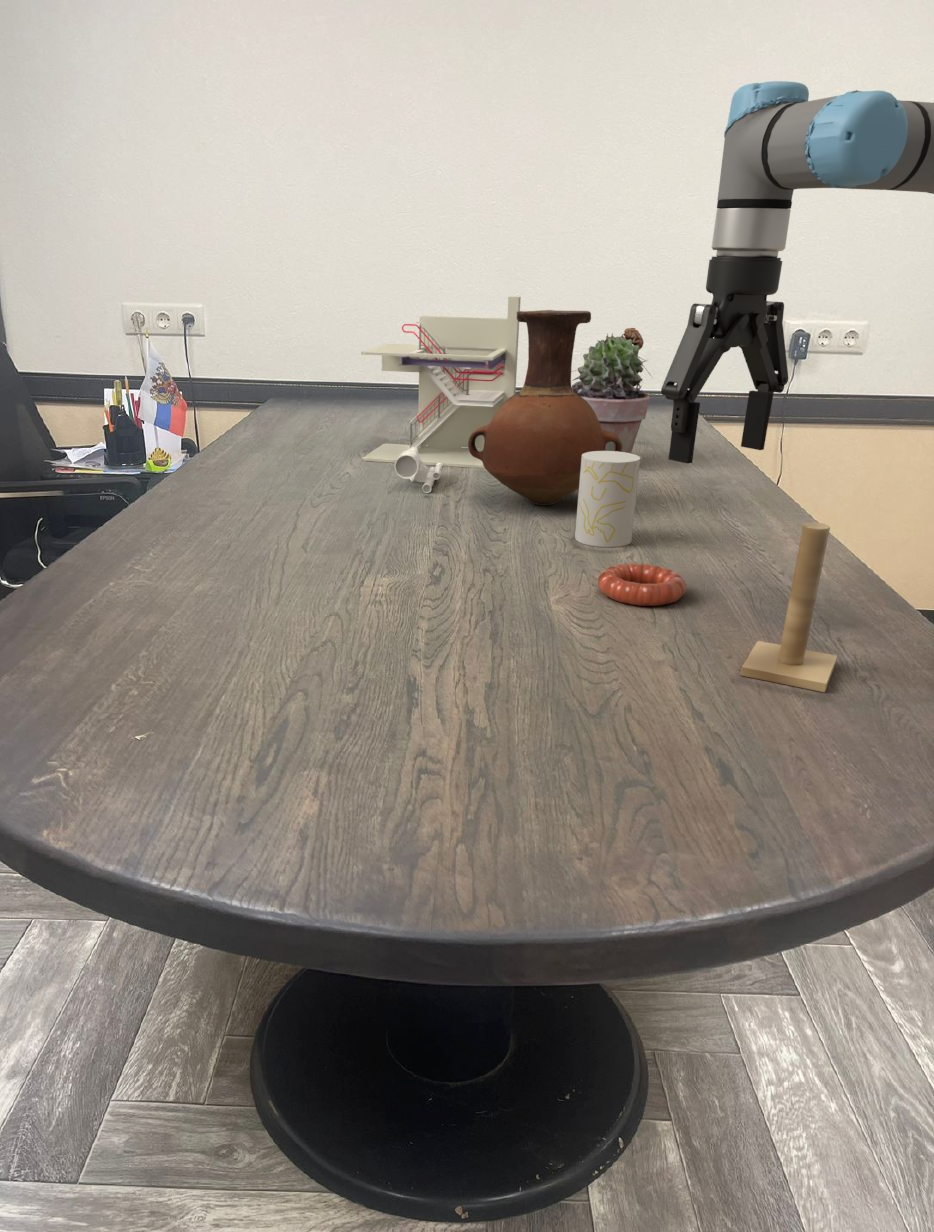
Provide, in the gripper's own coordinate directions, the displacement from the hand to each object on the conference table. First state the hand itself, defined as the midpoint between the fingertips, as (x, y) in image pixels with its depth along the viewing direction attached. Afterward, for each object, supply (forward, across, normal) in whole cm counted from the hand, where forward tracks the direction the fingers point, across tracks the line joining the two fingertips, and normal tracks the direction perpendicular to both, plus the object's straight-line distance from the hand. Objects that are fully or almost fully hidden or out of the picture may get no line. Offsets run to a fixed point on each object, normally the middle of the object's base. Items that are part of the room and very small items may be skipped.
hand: (717, 454), depth 110 cm
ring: (+16, +6, -4) cm, 17 cm away
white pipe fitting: (+17, -8, -67) cm, 69 cm away
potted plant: (+17, -48, -60) cm, 79 cm away
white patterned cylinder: (+17, -8, -23) cm, 30 cm away
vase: (+17, -16, -44) cm, 50 cm away
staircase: (+17, -25, -83) cm, 88 cm away
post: (+17, +12, +20) cm, 29 cm away
